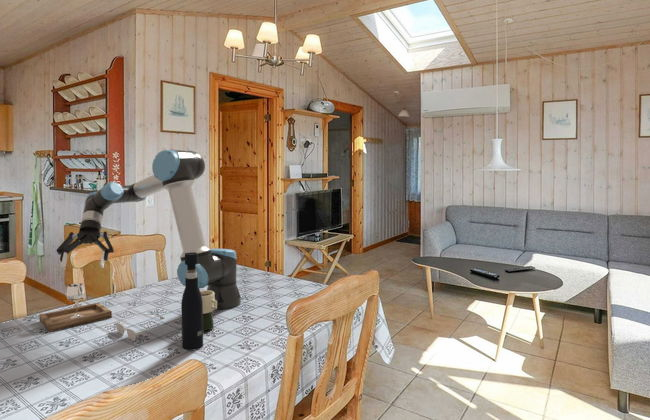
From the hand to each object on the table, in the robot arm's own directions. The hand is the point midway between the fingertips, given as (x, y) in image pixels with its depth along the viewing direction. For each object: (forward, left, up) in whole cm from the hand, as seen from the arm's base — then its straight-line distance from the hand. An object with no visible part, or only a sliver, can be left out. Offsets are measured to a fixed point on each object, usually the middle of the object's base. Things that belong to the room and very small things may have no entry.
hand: (82, 267), depth 165 cm
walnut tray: (-9, +5, -17) cm, 20 cm away
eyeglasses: (-37, -10, -18) cm, 42 cm away
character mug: (-50, -24, -17) cm, 58 cm away
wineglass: (-9, +5, -16) cm, 19 cm away
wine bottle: (-60, -14, -17) cm, 64 cm away
